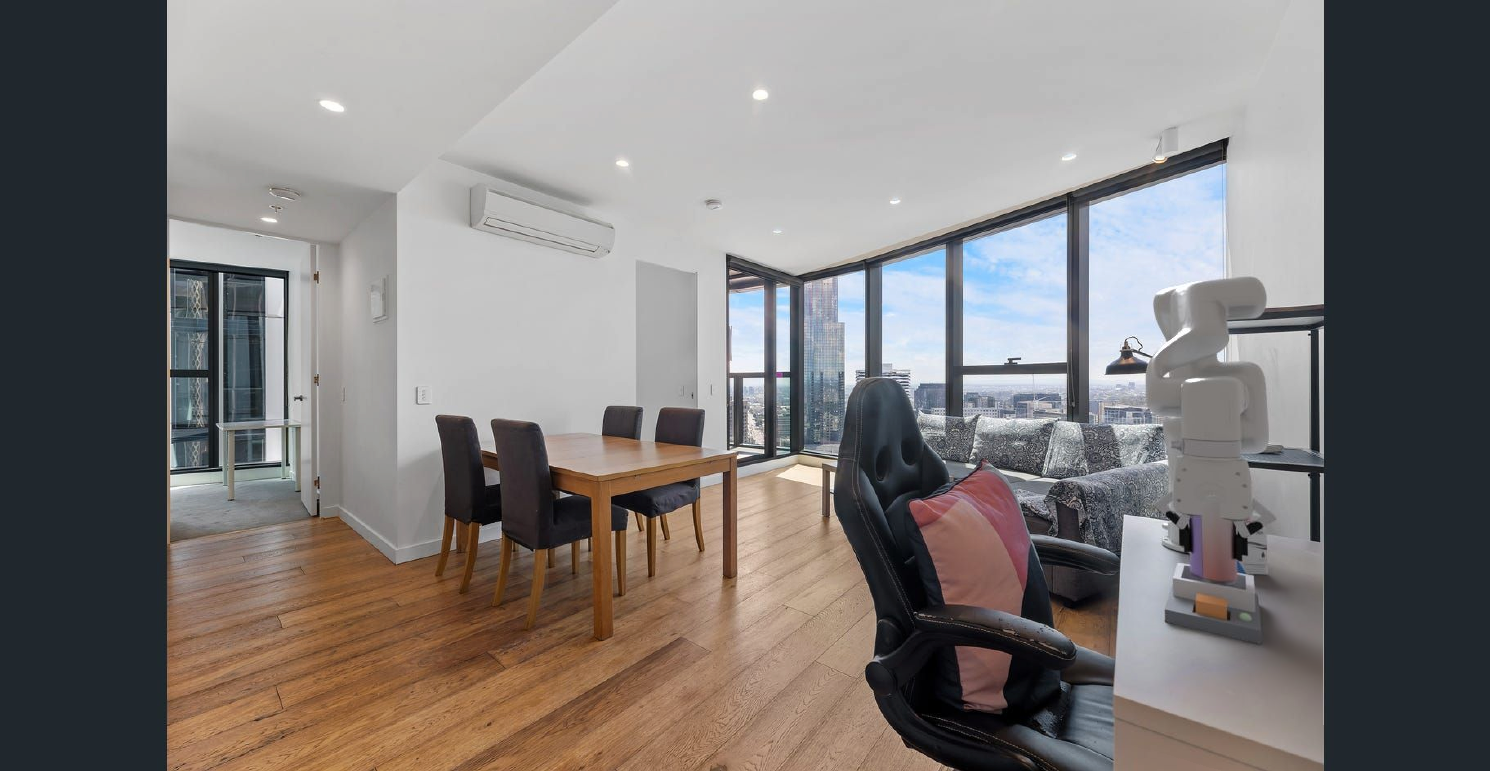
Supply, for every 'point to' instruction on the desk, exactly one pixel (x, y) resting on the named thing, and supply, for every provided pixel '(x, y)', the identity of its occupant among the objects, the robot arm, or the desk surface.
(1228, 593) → the panel
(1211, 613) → the button
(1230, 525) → the beverage can
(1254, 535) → the ink box
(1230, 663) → the desk surface
